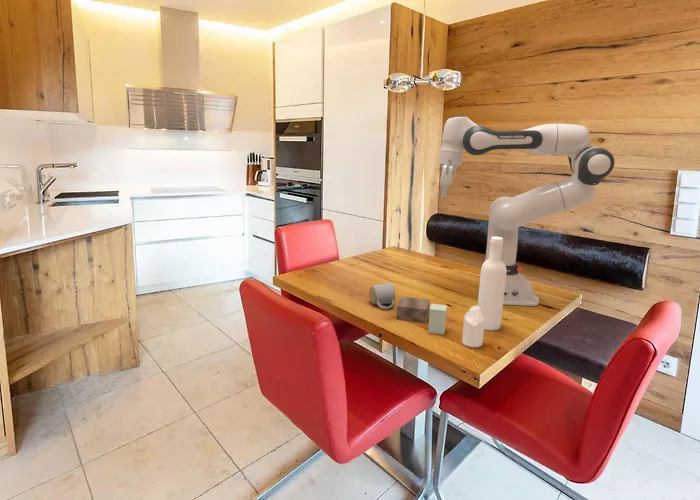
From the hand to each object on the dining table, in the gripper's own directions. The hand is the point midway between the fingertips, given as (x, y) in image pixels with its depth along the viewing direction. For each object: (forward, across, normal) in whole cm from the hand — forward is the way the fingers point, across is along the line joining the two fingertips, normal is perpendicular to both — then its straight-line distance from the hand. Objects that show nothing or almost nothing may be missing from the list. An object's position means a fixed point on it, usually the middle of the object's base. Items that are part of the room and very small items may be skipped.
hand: (444, 195), depth 166 cm
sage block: (+38, -40, -7) cm, 56 cm away
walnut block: (+40, -30, +2) cm, 50 cm away
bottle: (+37, -31, -23) cm, 53 cm away
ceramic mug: (+41, -23, +14) cm, 49 cm away
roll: (+37, -46, -18) cm, 62 cm away
